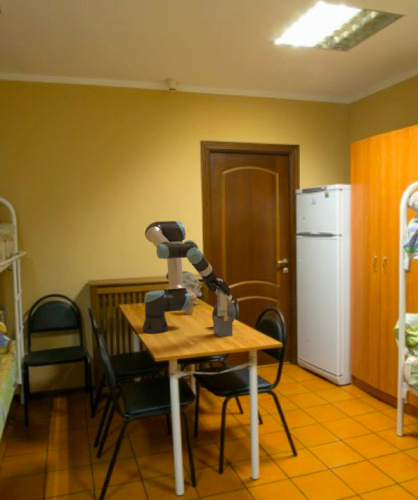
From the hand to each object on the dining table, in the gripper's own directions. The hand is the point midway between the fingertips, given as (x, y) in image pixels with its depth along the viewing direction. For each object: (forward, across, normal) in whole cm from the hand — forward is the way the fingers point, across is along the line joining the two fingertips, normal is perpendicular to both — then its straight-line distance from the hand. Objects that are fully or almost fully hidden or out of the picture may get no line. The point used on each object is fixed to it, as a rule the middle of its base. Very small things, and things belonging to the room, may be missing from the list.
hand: (226, 298), depth 248 cm
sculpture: (+54, -85, +24) cm, 104 cm away
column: (+6, 0, -12) cm, 13 cm away
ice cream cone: (+37, -58, +7) cm, 69 cm away
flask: (+24, -12, -6) cm, 27 cm away
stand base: (+12, 0, -17) cm, 21 cm away
